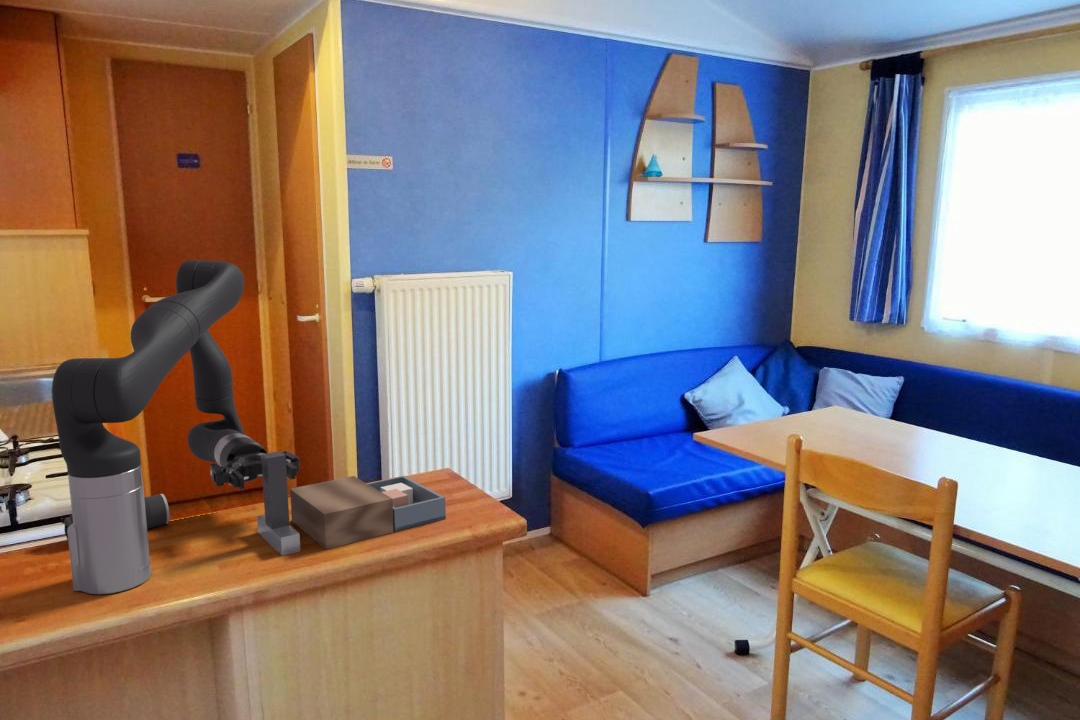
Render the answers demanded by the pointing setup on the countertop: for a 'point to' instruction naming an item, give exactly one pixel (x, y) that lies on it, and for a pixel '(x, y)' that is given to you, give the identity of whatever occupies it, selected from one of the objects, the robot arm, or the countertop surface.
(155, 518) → the flashlight
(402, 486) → the white block
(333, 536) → the marbled brown box
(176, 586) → the countertop surface
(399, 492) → the pink block
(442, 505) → the box
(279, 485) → the dark grey tall part
